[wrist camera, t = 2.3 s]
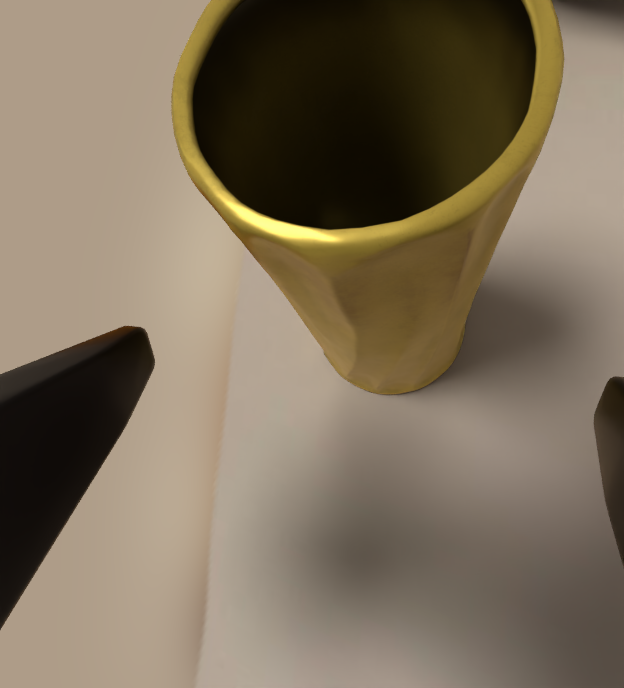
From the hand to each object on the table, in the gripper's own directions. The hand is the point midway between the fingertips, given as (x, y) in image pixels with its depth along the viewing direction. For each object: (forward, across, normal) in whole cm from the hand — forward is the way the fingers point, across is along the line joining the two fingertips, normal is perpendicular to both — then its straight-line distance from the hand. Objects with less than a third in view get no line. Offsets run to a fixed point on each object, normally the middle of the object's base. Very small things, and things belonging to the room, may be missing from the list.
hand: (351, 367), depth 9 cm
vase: (+10, 0, +5) cm, 11 cm away
